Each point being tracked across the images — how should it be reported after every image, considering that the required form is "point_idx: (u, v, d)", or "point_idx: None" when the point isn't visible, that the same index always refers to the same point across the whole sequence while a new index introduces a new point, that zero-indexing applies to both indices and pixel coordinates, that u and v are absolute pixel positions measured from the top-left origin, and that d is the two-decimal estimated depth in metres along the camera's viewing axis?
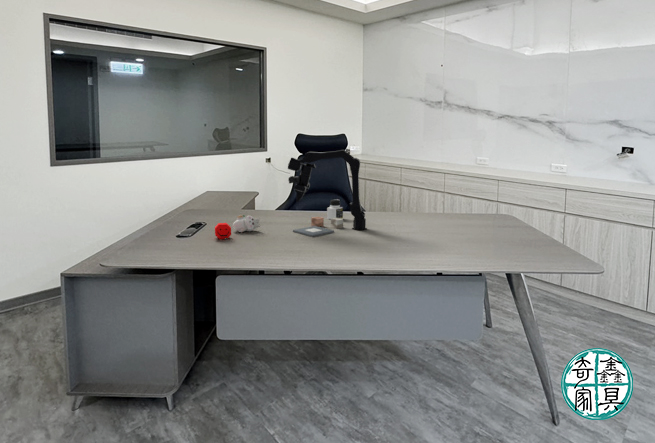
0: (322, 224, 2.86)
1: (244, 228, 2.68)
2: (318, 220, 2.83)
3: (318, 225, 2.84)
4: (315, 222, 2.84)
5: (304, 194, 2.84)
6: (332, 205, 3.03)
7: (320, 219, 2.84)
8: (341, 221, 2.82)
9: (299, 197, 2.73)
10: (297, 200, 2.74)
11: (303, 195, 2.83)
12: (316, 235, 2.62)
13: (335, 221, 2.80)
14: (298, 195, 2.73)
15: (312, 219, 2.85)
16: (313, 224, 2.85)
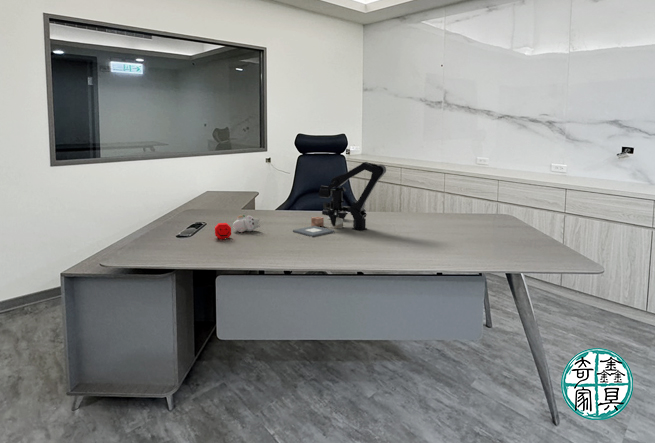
0: (322, 224, 2.86)
1: (244, 228, 2.68)
2: (318, 220, 2.83)
3: (318, 225, 2.84)
4: (315, 222, 2.84)
5: (343, 219, 2.84)
6: None
7: (320, 219, 2.84)
8: (341, 221, 2.82)
9: (333, 221, 2.80)
10: (333, 224, 2.81)
11: None
12: (316, 235, 2.62)
13: None
14: (332, 219, 2.80)
15: (312, 219, 2.85)
16: (313, 224, 2.85)
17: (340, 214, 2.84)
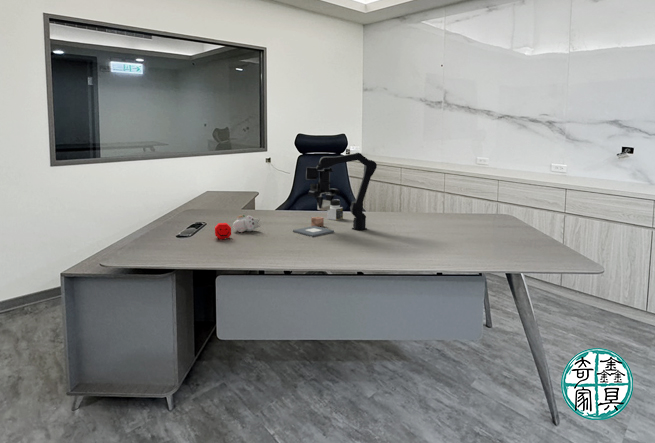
0: (322, 224, 2.86)
1: (244, 228, 2.68)
2: (318, 220, 2.83)
3: (318, 225, 2.84)
4: (315, 222, 2.84)
5: (330, 202, 2.75)
6: (332, 205, 3.03)
7: (320, 219, 2.84)
8: (328, 203, 2.73)
9: (319, 203, 2.71)
10: (319, 206, 2.72)
11: None
12: (316, 235, 2.62)
13: (322, 203, 2.71)
14: (318, 201, 2.71)
15: (312, 219, 2.85)
16: (313, 224, 2.85)
17: (328, 196, 2.75)
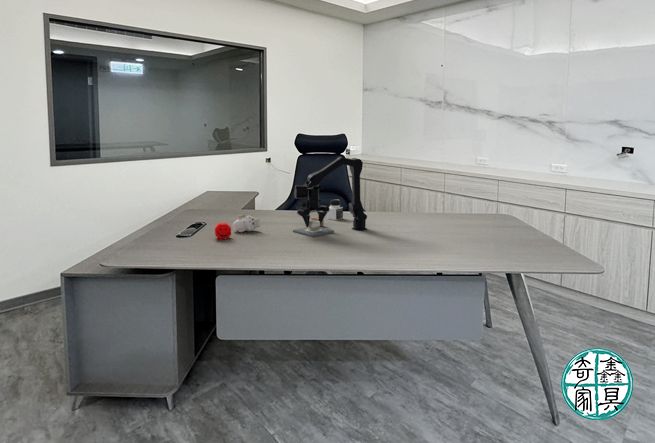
0: (322, 224, 2.86)
1: (244, 228, 2.68)
2: (318, 220, 2.83)
3: None
4: None
5: None
6: (332, 205, 3.03)
7: None
8: (318, 223, 2.69)
9: (306, 222, 2.66)
10: (306, 225, 2.67)
11: (321, 220, 2.72)
12: (316, 235, 2.62)
13: (311, 223, 2.68)
14: (305, 220, 2.66)
15: (312, 219, 2.85)
16: None
17: (320, 213, 2.73)
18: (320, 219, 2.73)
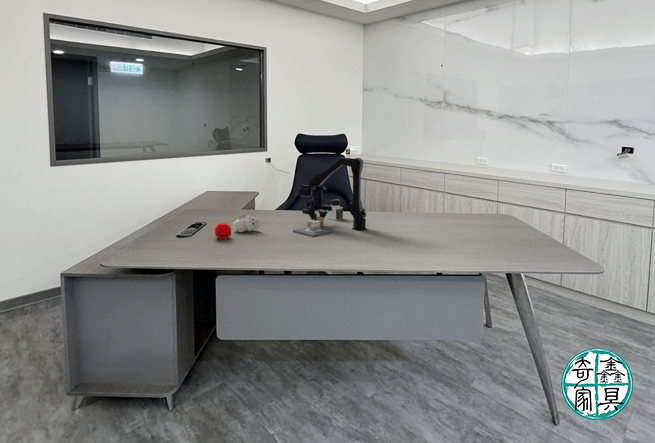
0: (322, 224, 2.86)
1: (244, 228, 2.68)
2: (318, 220, 2.83)
3: None
4: None
5: None
6: (332, 205, 3.03)
7: (320, 219, 2.84)
8: (318, 223, 2.69)
9: None
10: None
11: None
12: (316, 235, 2.62)
13: (311, 223, 2.68)
14: (312, 218, 2.83)
15: None
16: None
17: (321, 212, 2.87)
18: None
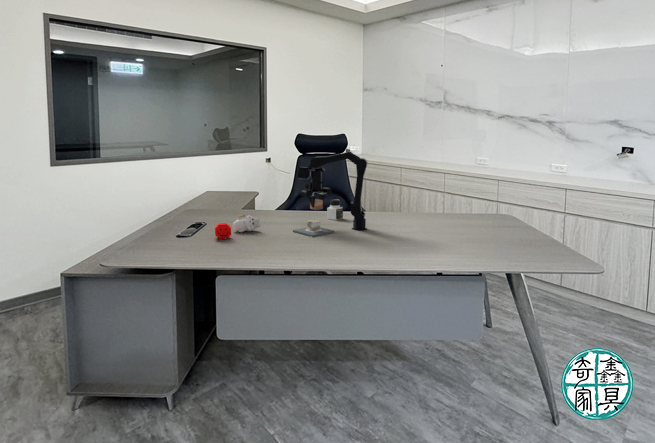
0: (321, 207, 2.79)
1: (244, 228, 2.68)
2: (317, 202, 2.77)
3: (317, 207, 2.77)
4: (314, 204, 2.77)
5: None
6: (332, 205, 3.03)
7: (319, 201, 2.78)
8: (318, 223, 2.69)
9: (312, 202, 2.76)
10: (312, 206, 2.78)
11: None
12: (316, 235, 2.62)
13: (311, 223, 2.68)
14: (311, 200, 2.77)
15: None
16: None
17: (320, 195, 2.81)
18: None
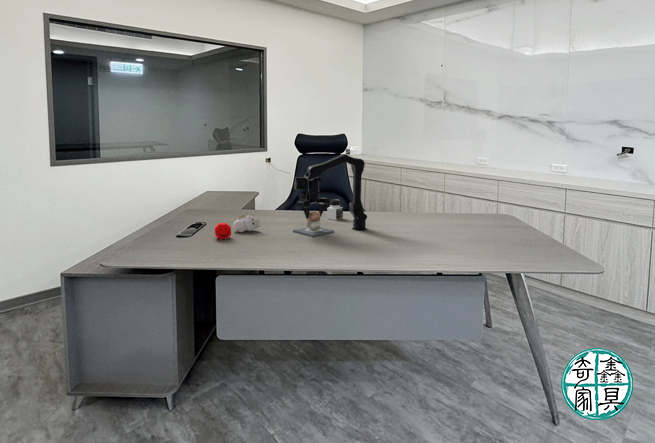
0: (318, 219, 2.69)
1: (244, 228, 2.68)
2: (314, 215, 2.67)
3: (314, 220, 2.67)
4: (311, 217, 2.67)
5: None
6: (332, 205, 3.03)
7: (316, 214, 2.68)
8: (318, 223, 2.69)
9: (306, 213, 2.65)
10: (306, 217, 2.66)
11: (321, 212, 2.71)
12: (316, 235, 2.62)
13: (311, 223, 2.68)
14: (305, 212, 2.65)
15: None
16: (309, 219, 2.69)
17: (320, 205, 2.72)
18: (320, 211, 2.72)
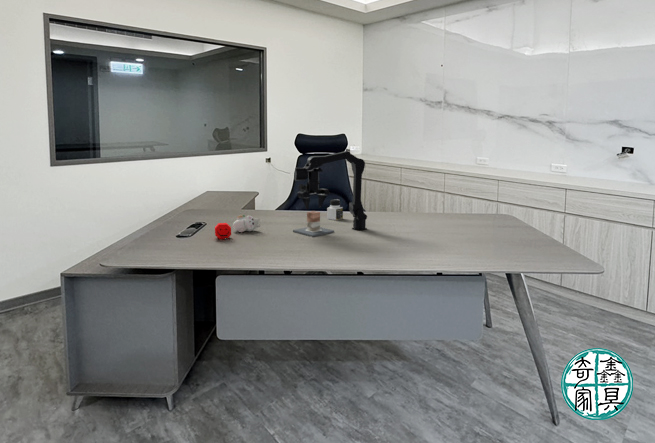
0: (318, 219, 2.69)
1: (244, 228, 2.68)
2: (314, 215, 2.67)
3: (314, 220, 2.67)
4: (311, 217, 2.67)
5: (322, 202, 2.70)
6: (332, 205, 3.03)
7: (316, 214, 2.68)
8: (318, 223, 2.69)
9: (306, 204, 2.64)
10: (306, 208, 2.65)
11: (321, 203, 2.70)
12: (316, 235, 2.62)
13: (311, 223, 2.68)
14: (305, 202, 2.64)
15: (308, 214, 2.69)
16: (309, 219, 2.69)
17: (320, 196, 2.71)
18: (320, 202, 2.71)
